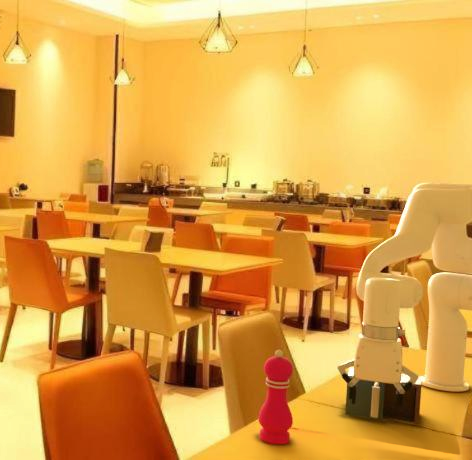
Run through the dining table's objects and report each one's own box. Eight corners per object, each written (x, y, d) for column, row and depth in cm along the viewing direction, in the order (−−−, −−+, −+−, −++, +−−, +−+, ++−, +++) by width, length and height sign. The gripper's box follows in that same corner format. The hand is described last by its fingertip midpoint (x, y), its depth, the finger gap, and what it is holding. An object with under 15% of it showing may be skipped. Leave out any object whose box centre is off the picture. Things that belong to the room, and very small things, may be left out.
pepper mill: (293, 447, 162) (298, 355, 160) (258, 443, 164) (263, 352, 162) (289, 435, 169) (294, 347, 167) (256, 432, 171) (261, 344, 169)
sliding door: (345, 414, 183) (347, 375, 182) (382, 420, 180) (384, 380, 179) (343, 423, 177) (345, 383, 176) (381, 429, 174) (384, 388, 173)
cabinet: (347, 406, 191) (349, 367, 190) (417, 416, 184) (420, 376, 183) (345, 415, 184) (347, 375, 183) (418, 426, 177) (421, 384, 176)
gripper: (421, 333, 173) (416, 407, 174) (340, 324, 180) (336, 395, 182) (422, 340, 166) (416, 416, 168) (338, 330, 173) (333, 404, 175)
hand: (375, 405), depth 175 cm, fingers open, 8 cm apart
